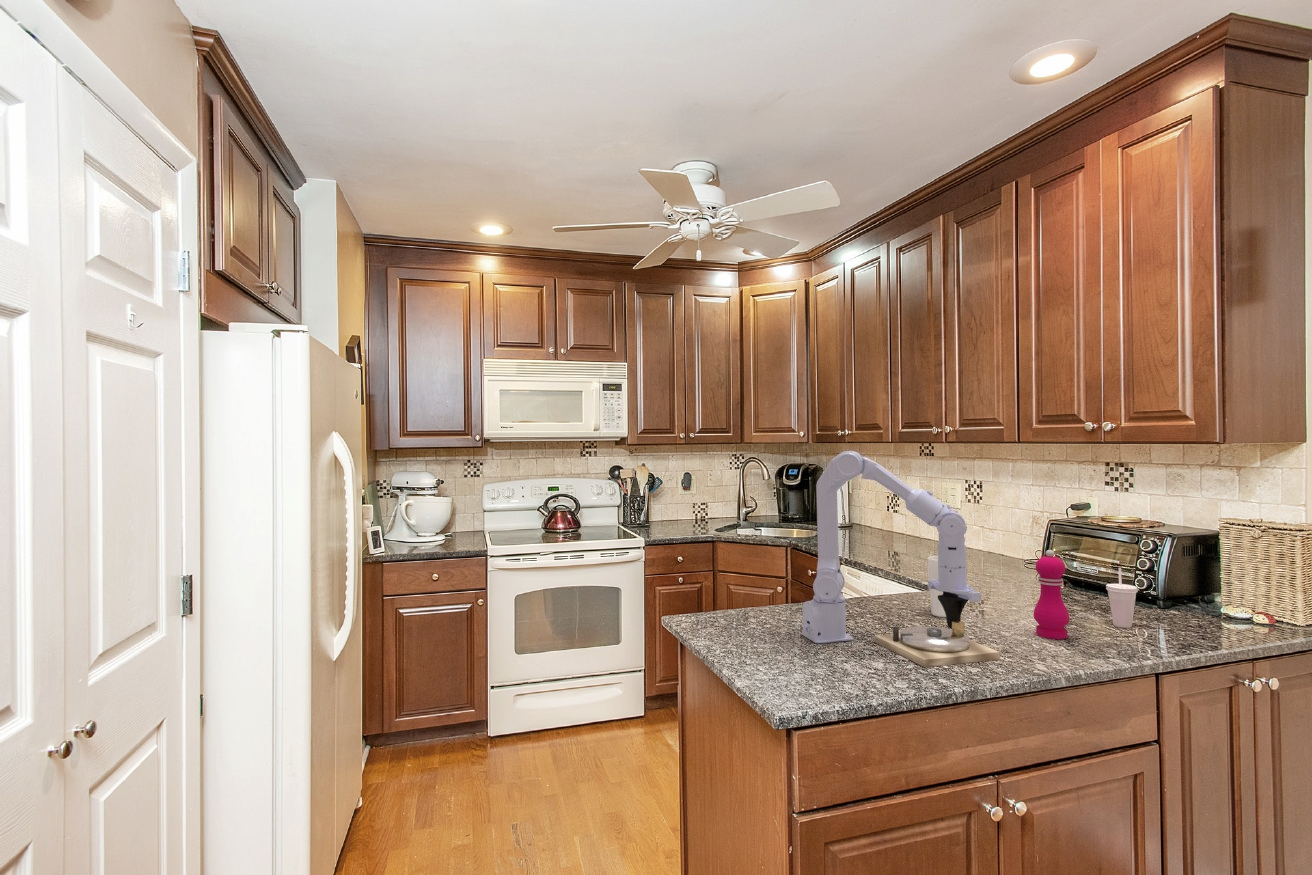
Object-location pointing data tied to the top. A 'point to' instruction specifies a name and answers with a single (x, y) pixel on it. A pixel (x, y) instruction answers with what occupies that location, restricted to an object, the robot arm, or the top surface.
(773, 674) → the top surface
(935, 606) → the drinking glass
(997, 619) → the top surface
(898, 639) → the base plate
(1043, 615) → the pepper mill
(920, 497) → the robot arm
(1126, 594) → the smoothie
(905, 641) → the flange disc
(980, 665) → the top surface
